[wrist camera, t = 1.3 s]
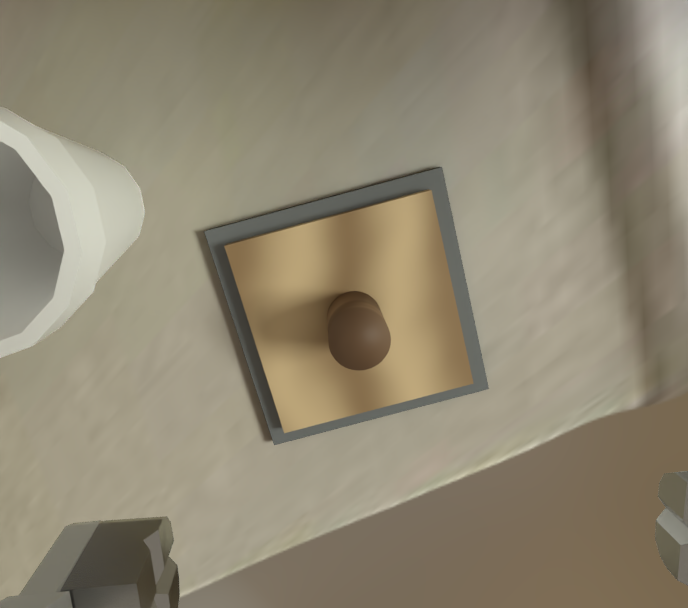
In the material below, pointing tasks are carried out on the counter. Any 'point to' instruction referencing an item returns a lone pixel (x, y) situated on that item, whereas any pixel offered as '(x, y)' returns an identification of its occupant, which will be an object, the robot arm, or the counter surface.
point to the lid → (352, 311)
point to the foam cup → (56, 227)
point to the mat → (328, 208)
